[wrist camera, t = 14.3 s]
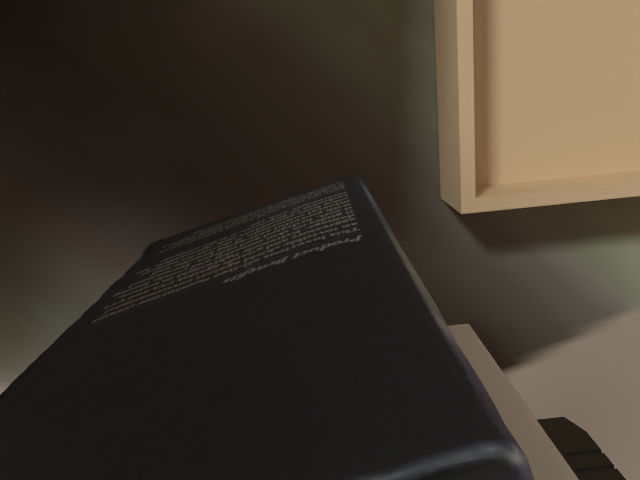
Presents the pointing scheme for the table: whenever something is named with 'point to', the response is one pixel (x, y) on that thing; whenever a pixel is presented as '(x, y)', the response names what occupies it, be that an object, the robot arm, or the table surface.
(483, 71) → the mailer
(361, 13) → the table surface
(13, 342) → the table surface
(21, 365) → the table surface
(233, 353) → the small box
